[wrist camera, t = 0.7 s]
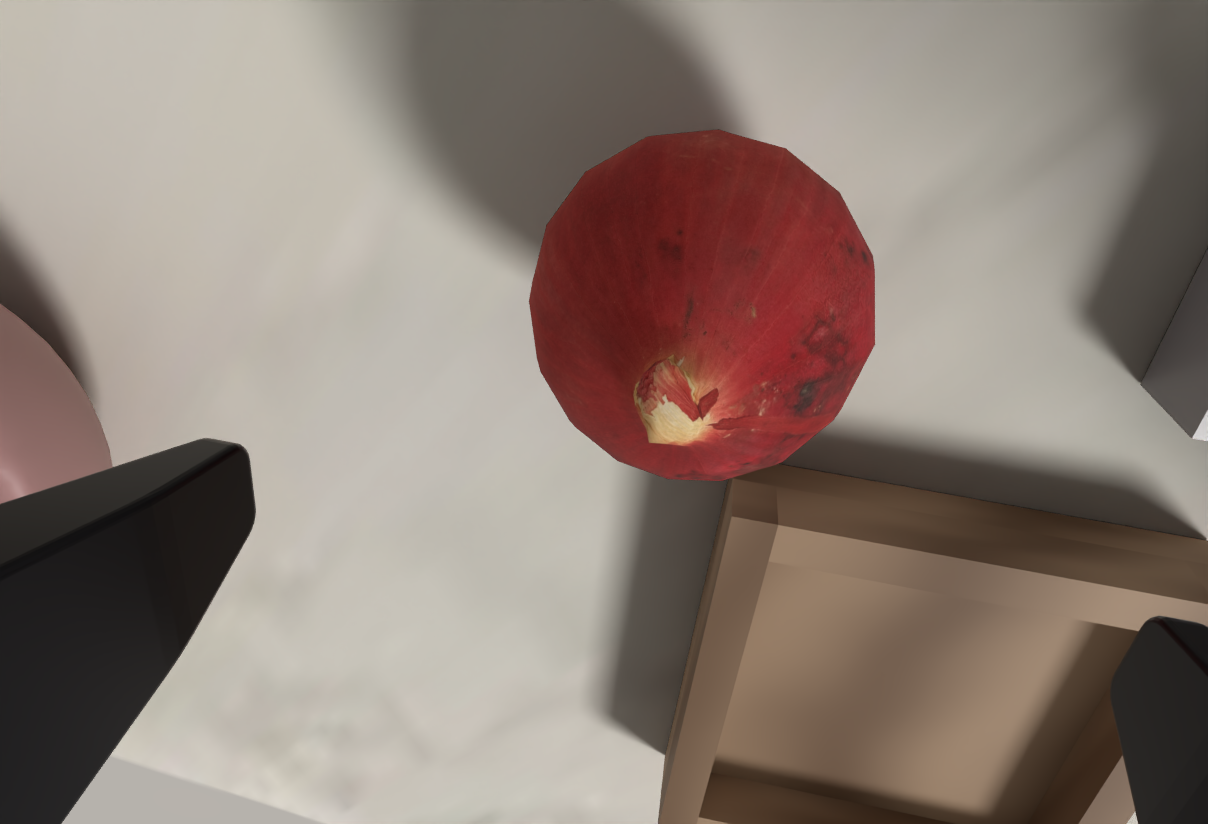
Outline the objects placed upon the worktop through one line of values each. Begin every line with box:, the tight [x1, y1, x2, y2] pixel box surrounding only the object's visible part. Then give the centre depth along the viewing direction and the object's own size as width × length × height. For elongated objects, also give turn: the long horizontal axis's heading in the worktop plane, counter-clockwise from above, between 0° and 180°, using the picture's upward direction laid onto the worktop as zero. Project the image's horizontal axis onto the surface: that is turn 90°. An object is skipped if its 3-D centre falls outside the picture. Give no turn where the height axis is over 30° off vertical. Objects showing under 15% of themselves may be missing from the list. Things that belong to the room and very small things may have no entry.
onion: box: [529, 129, 875, 481], centre depth 14 cm, size 6×6×8 cm
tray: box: [658, 464, 1208, 824], centre depth 21 cm, size 11×11×2 cm
